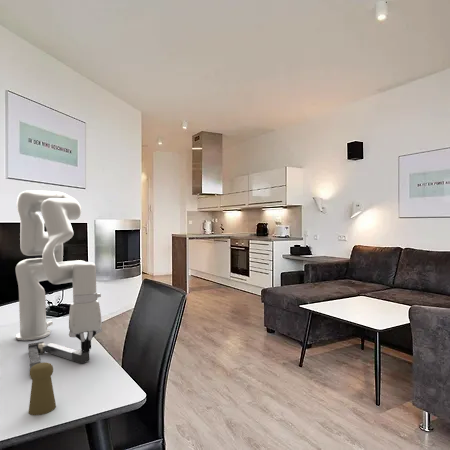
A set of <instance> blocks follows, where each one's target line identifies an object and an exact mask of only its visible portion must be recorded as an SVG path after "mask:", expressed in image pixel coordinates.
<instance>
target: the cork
mask: <svg viewBox="0 0 450 450" xmlns="http://www.w3.org/2000/svg"><path fill="white" fill-rule="evenodd" d="M53 372H54V367H53V365H52V363H50V362H47V361H46V362H45V361H43V362H41V363H38V364H36V365H34V366H32V368H31V369H30V368H29V378H30V379H31V380H32V381H31V388H30V389H31V390H30V395H29V397H30V398H29V403H28V414H30V415H31V416H42V415H45V414H49V413H51V412H52V411H54V410H55V408H56V407H57V405H56V398H55V393H54V387H53V382H52V381H53V380H52V376H53V374H54V373H53Z"/></svg>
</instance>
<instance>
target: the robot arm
mask: <svg viewBox="0 0 450 450" xmlns="http://www.w3.org/2000/svg"><path fill="white" fill-rule="evenodd" d="M16 209H17V213H18V217H19V221H20V228H19V229H20V233H19V236H20V238H19V240H20V244H19V246H20V252H21V253H22V254H23V255H25V256H29V257H30V256H42V257H35V258H26V259H23V260H20V261H19V262H18V263H17V264H16V266H15V276H16V281H17V285H18V287H17V288H18V302H19V303H18V304H19V307H18V308H19V310H18V311H19V332H18V333H16V335H15V340H17V341H27V342H28V341H36V340H40V339H44V338H46V337H48V336H50V335H51V330H50V329H48V328H49V327H50V326H53V321H52V320H49V321H47V309H46V308H47V306H46V305H47V304H46V303H47V302H46V301H47V300H46V291H45V288H44V287H43V286H42V285H41V284H40V282H44V281H48V282H49V283H51V284H52V285H61V284H68V283H72V302H71V303H70V306H69V313H68V314H69V315H68V329H69V334H68V336H69V338H77V339H78V340H79V341H80V348H81V349H80V350H83V351H86V352H89V353H90V350H91V349H92V340H93V338H94V337H95V336H96V334H100V333H102V332H103V328H102V314H101V312H102V311H101V306H100V302H99V300H98V298H101V296H102V294H101V292H100V293H99V292H97V266H96V263H94V262H92V261H85V260H81V259H80V260H79V259H78V260H77V259H76V260H67V261H63V260H64V257H63V256H64V244H65V243H66V242H68V241H70V239H72V238H73V236H74V233H75V232H74V230H73V227H72V224H71V221H77V220H78V219H79V218H81V216H82V206H81V204H80V202H79V201H78V200H77V199H76V198H74V197H73V196H71V195H69V194H67V193H65V192H61V191H57V190H56V191H55V190H53V191H52V190H41V189H40V190H39V189H38V190H37V189H36V190H35V189H34V190H33V189H31V190H30V189H29V190H24V191H21V192H20V193H19V194H18V196H17V198H16ZM40 212H41V214H40ZM45 230H46V231H45ZM85 333H87V334H86V337H85Z"/></svg>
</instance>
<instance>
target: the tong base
mask: <svg viewBox="0 0 450 450" xmlns="http://www.w3.org/2000/svg"><path fill="white" fill-rule="evenodd" d="M40 343H44V344H45V342H44V341H39V342H33V343H28V345H27V346H28V350H27V351H28V355H29V357H28V359H29V362H30V363H29V370H30V369H31V368H32V366H34V365H36V364H38V363H42V362H41V359H40V354H38V344H40Z"/></svg>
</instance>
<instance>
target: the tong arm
mask: <svg viewBox="0 0 450 450" xmlns="http://www.w3.org/2000/svg"><path fill="white" fill-rule="evenodd" d="M45 353H48V354H51V355H54V356H57V357H60V358H63V359H66V360H69V361H72V362H76V363H79V364H80V365H83V364H84V363H87V362H90V352H86V351H83V350H81V349H78V350H76V349H73V348H71V347H70V348H69V347H66V346H64V345H60V344H58V343H57V344H56V343H53V342H51V343H45V342H44V343H40V344H38V354H39V355H43V354H45Z"/></svg>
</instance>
